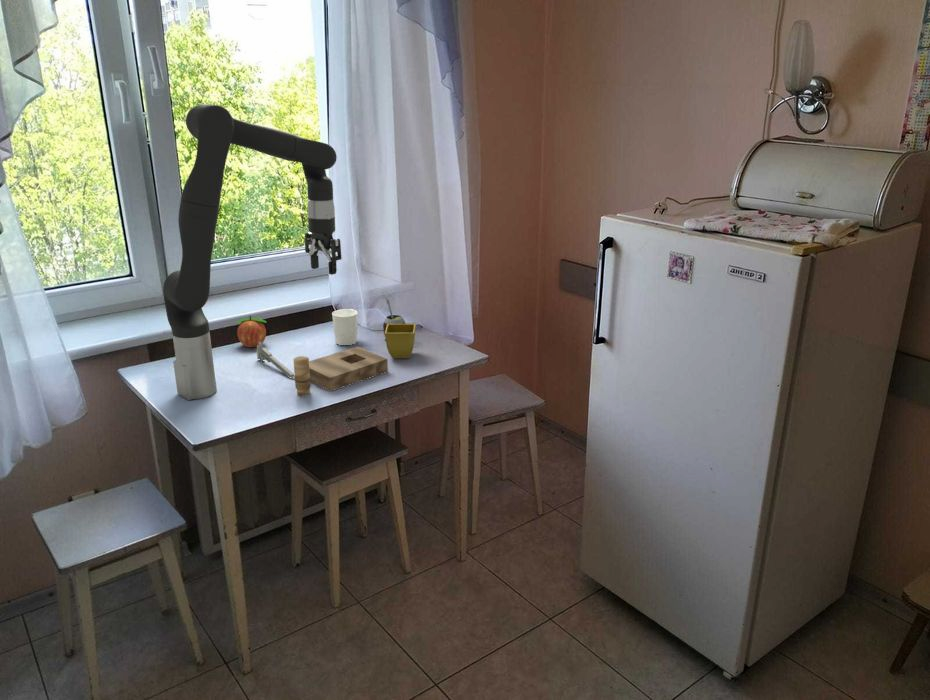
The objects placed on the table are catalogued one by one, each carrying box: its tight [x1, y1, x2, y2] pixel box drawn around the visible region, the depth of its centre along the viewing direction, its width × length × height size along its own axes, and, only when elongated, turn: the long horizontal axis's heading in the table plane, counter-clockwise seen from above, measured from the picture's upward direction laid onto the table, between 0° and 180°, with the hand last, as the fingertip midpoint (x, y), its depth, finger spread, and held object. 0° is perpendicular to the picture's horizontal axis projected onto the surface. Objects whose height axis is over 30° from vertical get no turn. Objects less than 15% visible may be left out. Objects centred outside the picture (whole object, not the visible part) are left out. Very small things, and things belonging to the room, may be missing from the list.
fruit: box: [234, 315, 267, 348], centre depth 235 cm, size 9×10×10 cm
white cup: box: [331, 308, 359, 346], centre depth 239 cm, size 8×8×10 cm
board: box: [309, 346, 389, 392], centre depth 215 cm, size 20×14×4 cm
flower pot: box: [384, 323, 416, 359], centre depth 228 cm, size 9×9×9 cm
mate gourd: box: [381, 292, 406, 342], centre depth 240 cm, size 8×8×15 cm
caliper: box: [256, 342, 295, 380], centre depth 218 cm, size 20×1×6 cm, turn 43°
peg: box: [293, 356, 312, 397], centre depth 202 cm, size 4×4×10 cm
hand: (323, 271), depth 219 cm, fingers open, 8 cm apart
